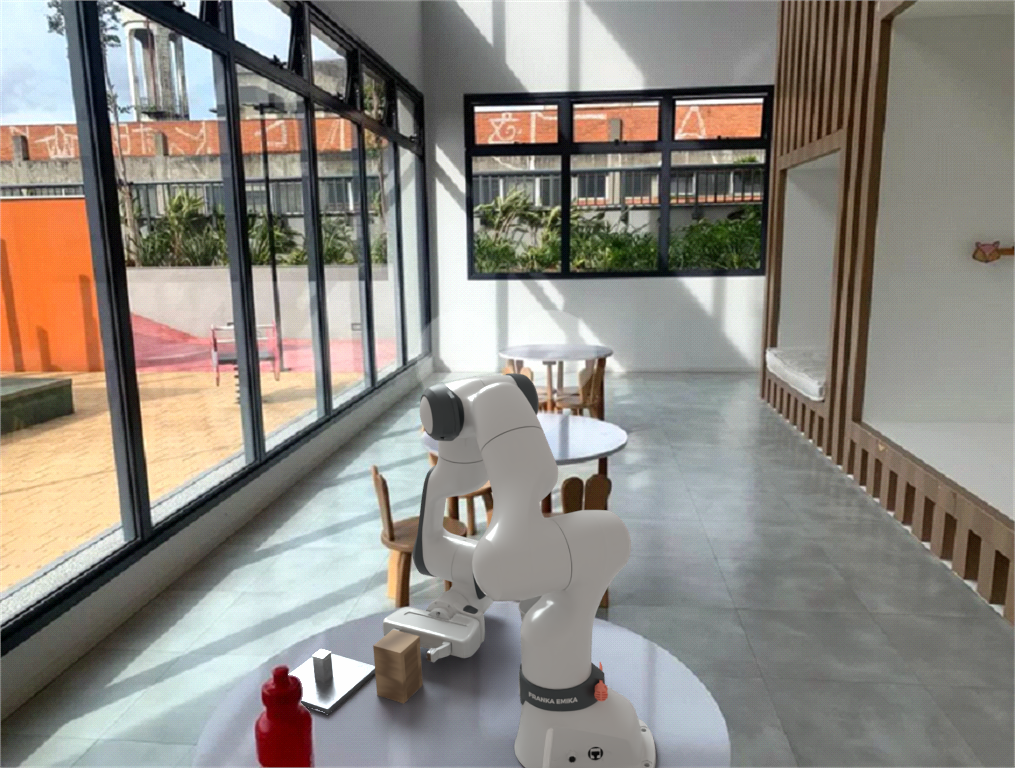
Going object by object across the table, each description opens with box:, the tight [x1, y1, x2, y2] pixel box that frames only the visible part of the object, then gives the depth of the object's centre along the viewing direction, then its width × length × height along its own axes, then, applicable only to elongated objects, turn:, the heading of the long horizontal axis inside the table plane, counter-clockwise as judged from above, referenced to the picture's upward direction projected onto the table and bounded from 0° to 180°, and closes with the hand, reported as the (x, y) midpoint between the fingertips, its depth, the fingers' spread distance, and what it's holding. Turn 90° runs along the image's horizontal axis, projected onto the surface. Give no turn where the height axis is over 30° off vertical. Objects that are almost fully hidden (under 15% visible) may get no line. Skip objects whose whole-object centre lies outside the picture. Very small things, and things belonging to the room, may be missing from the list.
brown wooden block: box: [372, 630, 424, 704], centre depth 131 cm, size 6×6×10 cm
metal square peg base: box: [289, 648, 376, 715], centre depth 134 cm, size 14×14×6 cm
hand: (408, 652), depth 133 cm, fingers open, 8 cm apart
